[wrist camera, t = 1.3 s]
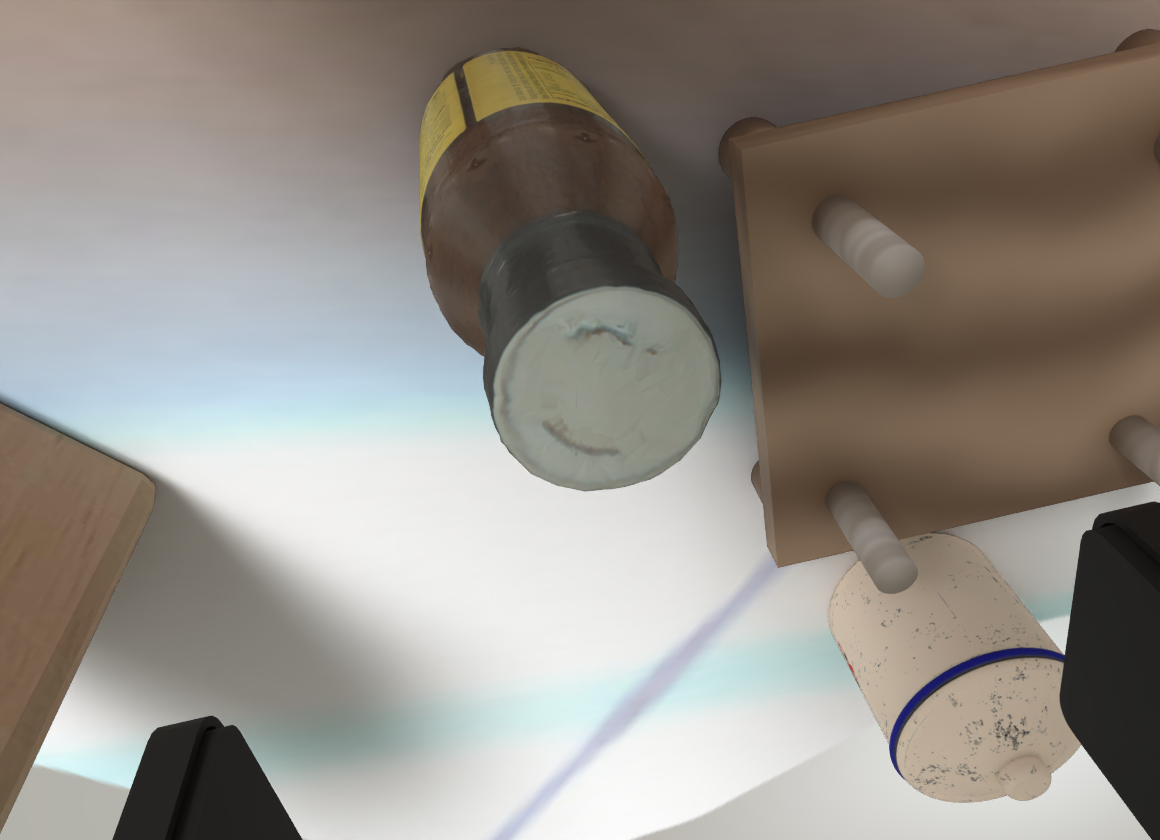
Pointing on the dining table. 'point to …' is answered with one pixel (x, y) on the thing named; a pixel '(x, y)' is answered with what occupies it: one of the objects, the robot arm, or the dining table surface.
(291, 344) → the dining table surface
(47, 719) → the wooden block
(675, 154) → the dining table surface
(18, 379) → the dining table surface
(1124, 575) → the robot arm
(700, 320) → the sauce bottle
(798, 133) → the peg shelf
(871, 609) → the teacup with lid
